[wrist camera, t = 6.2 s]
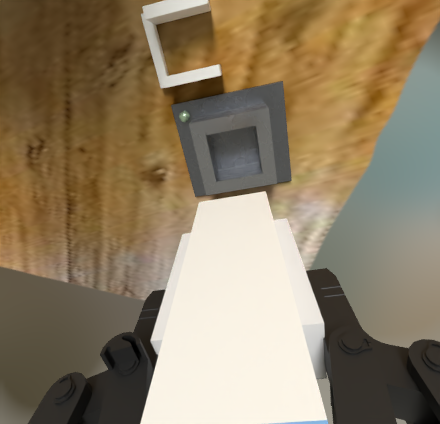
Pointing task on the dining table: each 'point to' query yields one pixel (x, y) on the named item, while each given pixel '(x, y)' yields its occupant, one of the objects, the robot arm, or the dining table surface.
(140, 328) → the robot arm
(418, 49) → the dining table surface
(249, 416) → the plug
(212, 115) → the port panel
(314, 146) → the dining table surface
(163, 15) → the holster
